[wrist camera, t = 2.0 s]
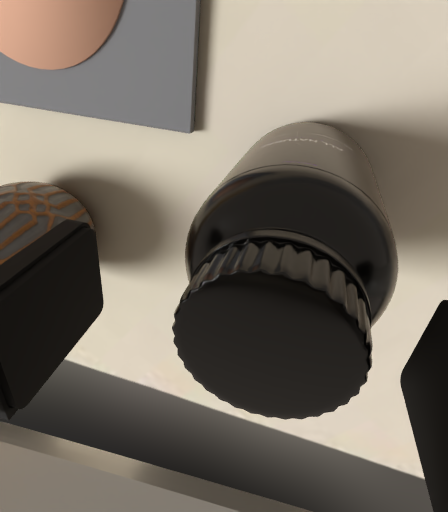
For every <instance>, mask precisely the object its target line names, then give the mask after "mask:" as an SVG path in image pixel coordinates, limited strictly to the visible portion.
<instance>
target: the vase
mask: <svg viewBox="0 0 448 512" xmlns="http://www.w3.org/2000/svg"><path fill="white" fill-rule="evenodd" d="M66 219H71V220H76V221H81V222H86V223H88V224H89V225H90V227H91V229H93V230H94V231H95V229H94V225H93V222H92V220H91V217H90V215H89V214H88V212H87V210H86V209H85V208H84V206H83V205H82V204H81V203H80V202H79V201H78V200H77V199H76V198H75V197H74V196H72V195H71V194H70V193H68V192H66V191H65V190H63V189H61V188H58V187H56V186H53V185H50V184H47V183H40V182H17V183H10V184H6V185H2V186H0V265H1V264H2V263H4V262H5V261H7V260H8V259H9V258H11V257H12V256H14V255H15V254H17V253H18V252H19V251H21V250H22V249H24V248H25V247H27V246H28V245H30V244H31V243H32V242H34V241H35V240H37V239H38V238H40V237H41V236H42V235H44V234H45V233H47V232H48V231H50V230H51V229H53V228H54V227H55V226H57V225H58V224H60V223H61V222H63V221H64V220H66Z"/></svg>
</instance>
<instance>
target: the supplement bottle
mask: <svg viewBox="0 0 448 512" xmlns="http://www.w3.org/2000/svg"><path fill="white" fill-rule="evenodd" d="M185 263H186V271H187V275H188V280H189V285H188V287H187V288H186V290H185V292H184V293H183V295H182V297H181V300H180V303H179V305H178V306H177V308H176V310H175V313H174V318H175V321H174V323H173V326H172V329H173V332H174V335H175V337H174V341H173V342H174V344H175V345H176V347H177V348H178V356H179V357H180V358H181V359H182V361H183V362H184V366H185V368H186V369H187V370H188V371H189V372H190V373H192V375H193V377H194V379H195V380H196V381H197V382H199V383H200V384H202V385H203V387H204V388H205V389H206V390H207V391H209V392H211V393H213V394H215V395H216V396H217V397H218V398H219V399H220V400H222V401H225V402H228V403H230V404H231V405H232V406H234V407H236V408H240V409H244V410H246V411H248V412H250V413H253V414H260V415H263V416H265V417H277V418H281V419H290V418H296V419H304V418H307V417H312V416H313V417H318V416H320V415H322V414H323V413H326V412H333V411H335V410H336V409H337V407H338V406H341V405H345V404H347V403H348V402H349V400H350V398H351V397H353V396H356V395H357V394H359V391H360V387H361V386H362V385H363V384H365V383H366V382H367V378H368V373H367V372H368V371H369V370H370V368H371V367H372V355H371V351H372V338H371V327H372V326H373V325H374V324H375V323H376V322H377V321H378V319H379V318H380V317H381V315H382V314H383V313H384V311H385V310H386V308H387V306H388V304H389V302H390V300H391V298H392V296H393V293H394V290H395V286H396V282H397V275H398V257H397V250H396V244H395V240H394V236H393V233H392V229H391V226H390V223H389V220H388V217H387V214H386V211H385V208H384V204H383V201H382V198H381V195H380V192H379V189H378V186H377V183H376V180H375V176H374V173H373V171H372V168H371V166H370V163H369V161H368V159H367V157H366V155H365V153H364V152H363V151H362V149H361V148H360V147H359V145H358V144H357V143H356V142H355V141H354V140H353V139H352V138H351V137H349V136H348V135H346V134H345V133H343V132H342V131H340V130H338V129H336V128H334V127H331V126H328V125H325V124H320V123H313V122H300V123H293V124H288V125H285V126H282V127H280V128H277V129H275V130H273V131H271V132H270V133H268V134H266V135H265V136H264V137H262V138H261V139H260V140H259V141H257V142H256V143H255V144H254V145H253V146H252V147H251V148H250V150H249V151H248V152H247V153H246V154H245V155H244V156H243V158H242V159H241V160H240V161H239V162H238V163H237V165H236V166H235V167H234V168H233V169H232V170H231V171H230V173H229V174H228V175H227V176H226V177H225V178H224V180H223V181H222V182H221V183H220V184H219V185H218V187H217V188H216V189H215V190H214V191H213V192H212V194H211V195H210V196H209V197H208V199H207V200H206V201H205V202H204V204H203V205H202V207H201V208H200V210H199V211H198V213H197V214H196V216H195V218H194V220H193V222H192V224H191V227H190V230H189V233H188V237H187V242H186V249H185Z"/></svg>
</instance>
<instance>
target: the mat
mask: <svg viewBox="0 0 448 512" xmlns="http://www.w3.org/2000/svg"><path fill="white" fill-rule="evenodd" d="M199 19H200V0H0V102H1V103H7V104H13V105H19V106H25V107H31V108H37V109H43V110H49V111H56V112H62V113H68V114H74V115H80V116H86V117H92V118H98V119H104V120H111V121H117V122H123V123H129V124H135V125H141V126H147V127H153V128H159V129H165V130H172V131H178V132H184V133H192V132H193V131H194V118H195V98H196V78H197V59H198V39H199Z"/></svg>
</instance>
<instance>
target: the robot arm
mask: <svg viewBox="0 0 448 512" xmlns="http://www.w3.org/2000/svg"><path fill="white" fill-rule="evenodd" d="M102 308H103V294H102V285H101V276H100V267H99V258H98V250H97V241H96V233H95V231H94V230H93V229H91V227H90V225H89V224H88V223H86V222H81V221H76V220H71V219H66V220H64V221H63V222H61V223H60V224H58V225H57V226H55V227H54V228H53V229H51V230H50V231H48V232H47V233H45V234H44V235H42V236H41V237H40V238H38V239H37V240H35V241H34V242H32V243H31V244H30V245H28V246H27V247H25V248H24V249H22V250H21V251H19V252H18V253H17V254H15V255H14V256H12V257H11V258H9V259H8V260H7V261H5V262H4V263H2V264H1V265H0V418H1V419H4V420H8V421H9V420H10V419H11V417H12V416H13V415H14V414H15V412H16V411H17V410H18V409H22V408H24V407H25V406H26V405H27V404H28V403H29V402H30V401H31V400H32V398H33V397H34V396H35V395H36V393H37V392H38V391H39V390H40V388H41V387H42V386H43V385H44V383H45V382H46V381H47V380H48V378H49V377H50V376H51V375H52V373H53V372H54V371H55V370H56V368H57V367H58V366H59V365H60V363H61V362H62V361H63V360H64V358H65V357H66V356H67V355H68V353H69V352H70V351H71V350H72V348H73V347H74V346H75V345H76V343H77V342H78V341H79V340H80V338H81V337H82V336H83V335H84V333H85V332H86V331H87V330H88V328H89V327H90V326H91V325H92V323H93V322H94V321H95V320H96V318H97V317H98V316H99V315H100V313H101V311H102ZM400 382H401V388H402V392H403V396H404V399H405V403H406V407H407V411H408V415H409V419H410V423H411V426H412V430H413V434H414V438H415V442H416V446H417V450H418V453H419V457H420V461H421V465H422V469H423V473H424V477H425V480H426V484H427V488H428V492H429V495H430V500H431V503H432V507H433V511H434V512H448V300H443V301H442V302H441V303H440V304H439V306H438V308H437V309H436V311H435V313H434V315H433V317H432V318H431V320H430V322H429V324H428V326H427V327H426V329H425V331H424V333H423V335H422V336H421V338H420V340H419V342H418V344H417V345H416V347H415V349H414V351H413V353H412V354H411V356H410V358H409V360H408V362H407V363H406V365H405V367H404V369H403V371H402V373H401V379H400ZM0 512H312V511H308V510H305V509H302V508H298V507H295V506H292V505H288V504H285V503H281V502H278V501H275V500H271V499H268V498H264V497H261V496H258V495H254V494H251V493H247V492H244V491H240V490H237V489H234V488H230V487H227V486H223V485H220V484H216V483H213V482H210V481H206V480H203V479H199V478H196V477H193V476H189V475H186V474H182V473H179V472H175V471H172V470H168V469H165V468H161V467H158V466H155V465H151V464H148V463H144V462H140V461H137V460H134V459H130V458H127V457H124V456H120V455H116V454H113V453H110V452H106V451H103V450H99V449H96V448H92V447H89V446H85V445H82V444H78V443H75V442H71V441H67V440H64V439H61V438H57V437H53V436H50V435H47V434H43V433H40V432H36V431H32V430H29V429H25V428H22V427H19V426H15V425H11V424H8V423H5V422H1V421H0Z"/></svg>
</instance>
